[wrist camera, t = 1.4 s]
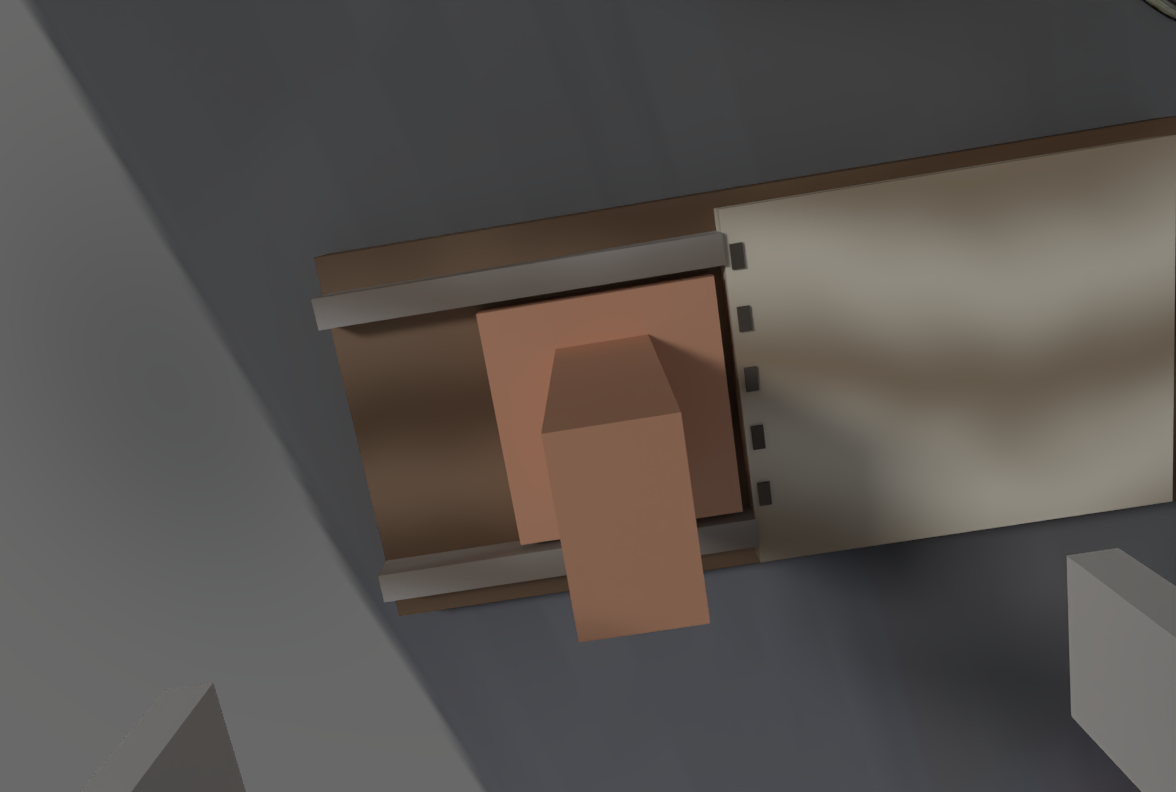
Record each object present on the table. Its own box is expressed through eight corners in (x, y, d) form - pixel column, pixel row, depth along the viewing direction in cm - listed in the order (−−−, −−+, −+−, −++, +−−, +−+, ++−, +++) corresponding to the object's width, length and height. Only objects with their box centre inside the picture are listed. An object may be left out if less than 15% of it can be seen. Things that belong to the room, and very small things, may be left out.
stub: (479, 309, 28) (420, 382, 18) (709, 272, 27) (782, 325, 17) (522, 533, 30) (491, 713, 20) (737, 500, 29) (818, 667, 19)
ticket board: (327, 254, 29) (302, 261, 26) (1156, 118, 28) (1215, 111, 25) (407, 596, 32) (391, 633, 29) (1154, 484, 31) (1206, 512, 28)
